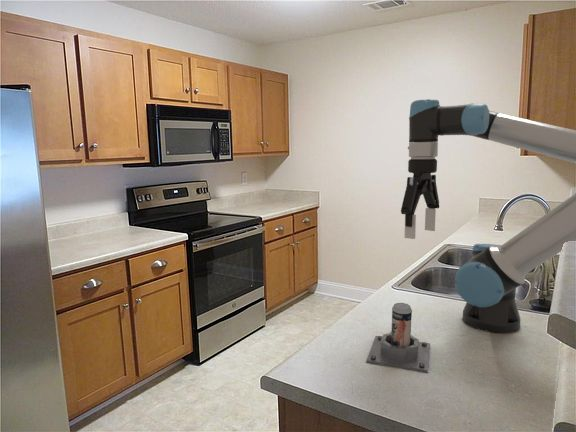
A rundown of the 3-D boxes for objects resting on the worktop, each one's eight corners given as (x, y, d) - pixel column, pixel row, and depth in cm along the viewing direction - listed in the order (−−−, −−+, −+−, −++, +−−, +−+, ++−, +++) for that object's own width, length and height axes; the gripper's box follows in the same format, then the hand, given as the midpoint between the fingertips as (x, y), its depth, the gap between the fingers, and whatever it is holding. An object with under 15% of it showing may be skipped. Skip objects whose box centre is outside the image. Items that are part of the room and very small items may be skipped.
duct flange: (430, 345, 106) (430, 332, 106) (427, 372, 94) (428, 358, 93) (375, 337, 111) (375, 325, 111) (366, 362, 99) (366, 348, 98)
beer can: (386, 348, 104) (388, 303, 102) (402, 344, 105) (404, 300, 103) (397, 357, 99) (399, 311, 97) (414, 353, 101) (416, 308, 99)
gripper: (427, 157, 124) (425, 226, 127) (388, 159, 106) (387, 240, 109) (452, 157, 119) (449, 228, 123) (416, 159, 101) (414, 243, 104)
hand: (420, 234), depth 116 cm, fingers open, 13 cm apart
